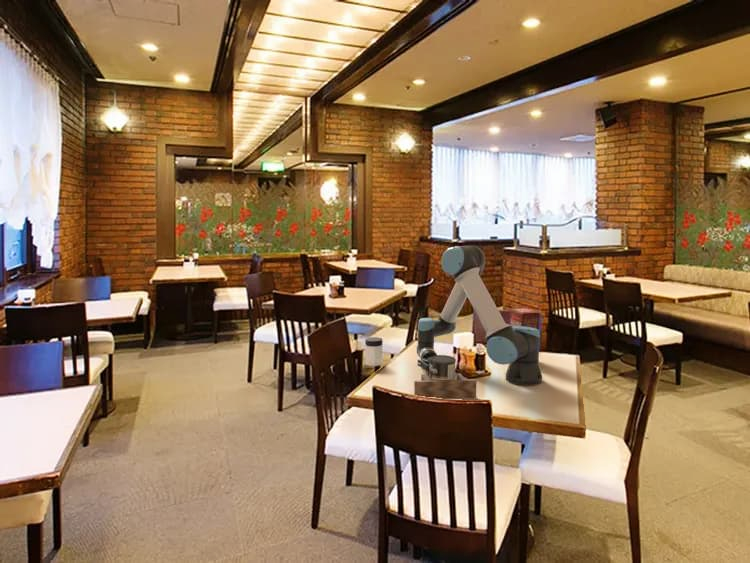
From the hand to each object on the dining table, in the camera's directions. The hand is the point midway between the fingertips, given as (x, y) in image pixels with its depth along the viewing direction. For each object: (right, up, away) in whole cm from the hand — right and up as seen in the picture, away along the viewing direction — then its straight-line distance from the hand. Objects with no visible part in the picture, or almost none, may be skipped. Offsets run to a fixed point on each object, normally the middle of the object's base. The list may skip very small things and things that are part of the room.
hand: (438, 374), depth 215 cm
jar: (-26, -2, +36) cm, 45 cm away
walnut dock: (+1, -7, -6) cm, 9 cm away
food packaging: (+46, -1, +40) cm, 61 cm away
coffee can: (+1, -7, -4) cm, 8 cm away
